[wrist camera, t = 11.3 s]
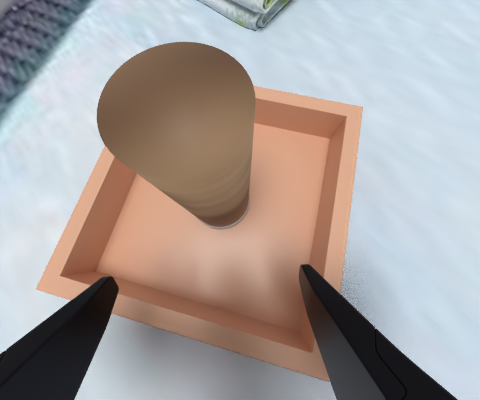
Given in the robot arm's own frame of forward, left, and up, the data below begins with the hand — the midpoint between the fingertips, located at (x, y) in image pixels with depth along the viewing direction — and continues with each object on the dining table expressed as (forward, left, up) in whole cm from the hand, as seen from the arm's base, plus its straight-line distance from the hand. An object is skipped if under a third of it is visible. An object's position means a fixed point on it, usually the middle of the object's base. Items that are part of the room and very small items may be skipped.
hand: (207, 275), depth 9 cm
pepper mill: (+2, -5, -8) cm, 9 cm away
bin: (+2, -6, -8) cm, 10 cm away
